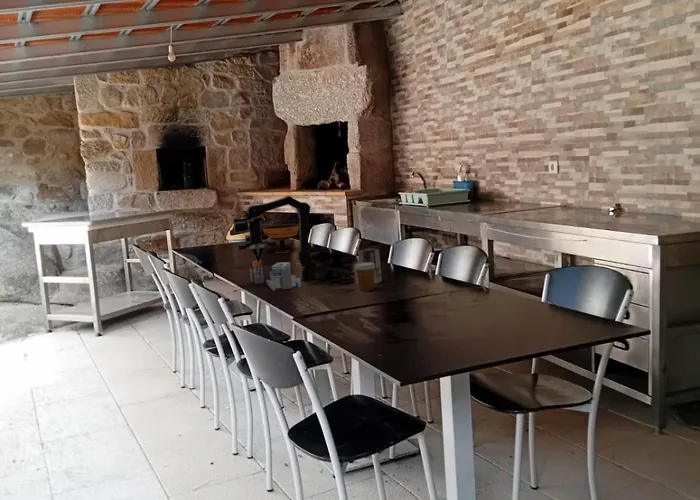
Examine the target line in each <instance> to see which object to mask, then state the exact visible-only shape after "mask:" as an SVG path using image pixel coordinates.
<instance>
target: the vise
mask: <svg viewBox="0 0 700 500" xmlns="http://www.w3.org/2000/svg"><path fill="white" fill-rule="evenodd" d="M263 269H264V268H263V267H260V273H256V274H254V273H253V270H252V268H249V274H250V282H253V279H254V284H263V283H264V280H265V279H264V270H263ZM260 274H261V276H260ZM265 281H266V285H267V286H268V287H269V288H270V290H272V291H273V292H274V291H276V288H275V286H274V285H270V283H269V281H273V274H272V270H271V271H269V279H266V280H265ZM295 287H297V288H302V284H301V282H296V286H295Z"/></svg>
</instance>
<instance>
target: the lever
mask: <svg viewBox="0 0 700 500" xmlns="http://www.w3.org/2000/svg"><path fill="white" fill-rule="evenodd" d="M252 267H253V268H254V269H253V268H252V269H253V270H252V274H253V275H254V274H256V273H259V274H261V269H260V268H263V267H262V260H261V259H260V260H259V262H257V260H252Z"/></svg>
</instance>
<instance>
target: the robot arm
mask: <svg viewBox="0 0 700 500" xmlns="http://www.w3.org/2000/svg"><path fill="white" fill-rule="evenodd" d="M288 205H289V206H291V207H292V208H294V209H296V213H297V217H298V220H299V222H298V224H299V229H298V230H299V233H300V234H299V248H298V250H296V251H295V253H296V257H295V259H296V260H297V262H298V263H299V264H300V265H301V272H300V273H301V274H300V275H301V279H302V280H303V281H307V282H308V281H314V280H317V279H318V278H317V277H316V276H317V275H316V274H317V273H316V265H317V264H316V263H315V262H314V261H313V260H312V257H311V253H310V249H309V233H308V232H309V228H308V226H309V225H308V221H309V217H310V212H311V206H310V204H309V203H307V202H303V201H302V202H301V201H299V200H297V199H295V198H293V197H292V196H290V195H288V196H287V195H286V196H285V197H282V198H278V199H276V200H273V201H269V202H266V203H262V204H261V203H260V204H253V205H249V206H248V207H247V208H246V214H245V216H244V217H243V218H233V232H234V233H235V234H236V233H247V231H248V230H249V234H247V235H244V237H245V238H244V240H245V242H238V243H237V245H236V247H237V248H236V249H238V251H242V250H247V248H248V249H249V251H251V252H252V253H253V255H254V257H255V261H257V262H259V260H261V256H262V253H263V251H264V250H265V249H266V247H265V246H269V247H276V246H277V240H272V239H266V240H265V241H263V238H262V237H263V236H262V235H261V233H262V225H261V222H264V221H265V219H264V218H262V216H261V215H263V214H265V213H267V212H269V211H273V210H275V209H278V208H281V207H285V206H288Z"/></svg>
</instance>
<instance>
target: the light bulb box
mask: <svg viewBox="0 0 700 500" xmlns="http://www.w3.org/2000/svg"><path fill="white" fill-rule="evenodd" d="M283 270H292V269H291V262H290V261H289V262H286V261H284V262H279V261H278V262H276V263H275V264H273V265H272V266H271V271H272V274H273V281H274V277H281V276H282V274H281V271H283ZM274 286H275V285H274Z"/></svg>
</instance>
